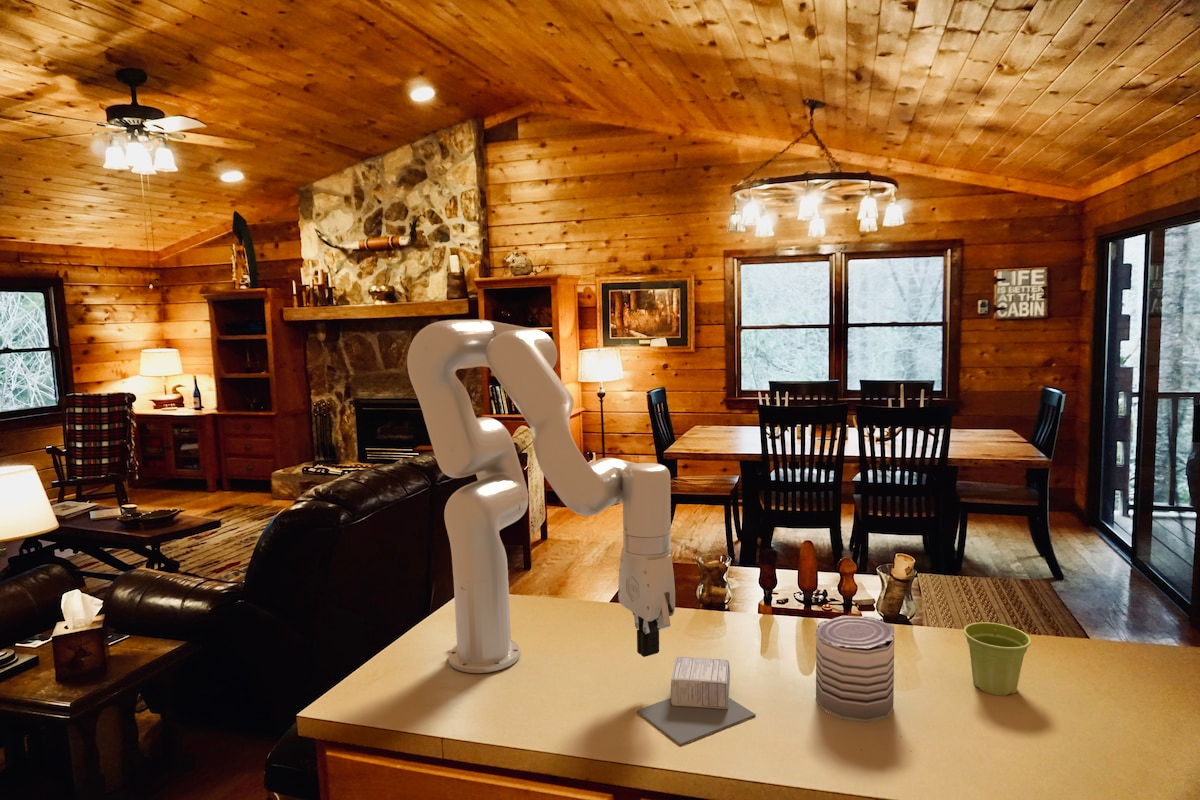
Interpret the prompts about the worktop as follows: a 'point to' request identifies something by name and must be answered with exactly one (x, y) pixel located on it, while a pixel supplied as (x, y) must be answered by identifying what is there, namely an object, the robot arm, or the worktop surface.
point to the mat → (692, 719)
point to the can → (855, 668)
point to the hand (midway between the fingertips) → (648, 652)
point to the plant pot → (996, 656)
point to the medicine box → (700, 683)
